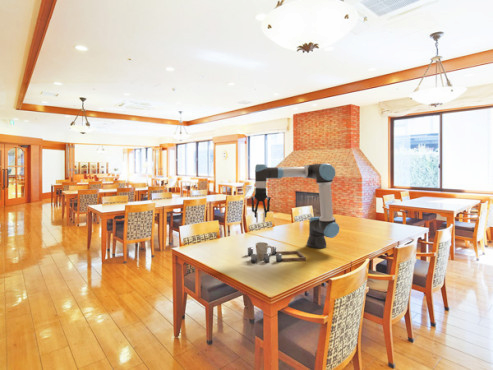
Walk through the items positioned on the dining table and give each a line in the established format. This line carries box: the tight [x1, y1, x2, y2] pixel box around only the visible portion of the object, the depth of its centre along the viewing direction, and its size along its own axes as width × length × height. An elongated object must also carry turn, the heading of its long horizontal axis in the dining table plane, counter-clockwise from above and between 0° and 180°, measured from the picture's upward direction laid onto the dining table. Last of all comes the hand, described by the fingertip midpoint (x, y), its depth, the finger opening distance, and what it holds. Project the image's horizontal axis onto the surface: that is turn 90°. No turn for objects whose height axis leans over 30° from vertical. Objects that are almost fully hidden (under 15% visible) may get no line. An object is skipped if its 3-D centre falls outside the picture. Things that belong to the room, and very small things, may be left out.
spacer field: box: [247, 246, 283, 264], centre depth 186 cm, size 20×19×5 cm
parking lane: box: [276, 250, 307, 262], centre depth 189 cm, size 16×16×2 cm
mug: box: [255, 241, 273, 261], centre depth 186 cm, size 8×13×10 cm, turn 111°
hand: (260, 222), depth 184 cm, fingers open, 4 cm apart
